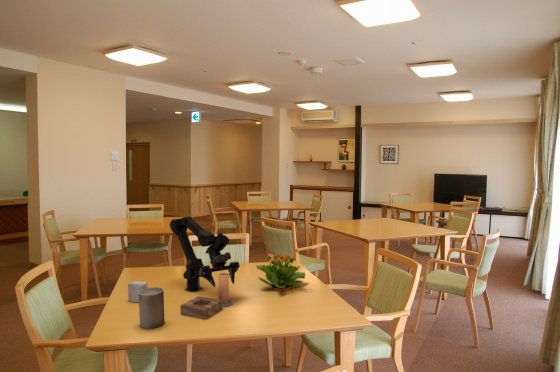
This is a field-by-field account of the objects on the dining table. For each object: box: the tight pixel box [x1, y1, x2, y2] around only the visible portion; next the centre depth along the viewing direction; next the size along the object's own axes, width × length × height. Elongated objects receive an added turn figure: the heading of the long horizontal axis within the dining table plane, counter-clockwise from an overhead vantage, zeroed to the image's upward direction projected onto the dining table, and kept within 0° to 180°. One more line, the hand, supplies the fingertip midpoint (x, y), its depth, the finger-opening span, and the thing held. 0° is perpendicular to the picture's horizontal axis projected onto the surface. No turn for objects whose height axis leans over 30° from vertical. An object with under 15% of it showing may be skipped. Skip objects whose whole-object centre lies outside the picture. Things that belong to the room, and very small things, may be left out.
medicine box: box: [127, 280, 149, 303], centre depth 188 cm, size 8×4×9 cm, turn 74°
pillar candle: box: [138, 287, 166, 330], centre depth 161 cm, size 10×10×15 cm
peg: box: [218, 272, 230, 304], centre depth 184 cm, size 4×4×13 cm
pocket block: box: [180, 295, 224, 320], centre depth 175 cm, size 13×13×4 cm
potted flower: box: [256, 253, 306, 292], centre depth 206 cm, size 25×24×18 cm
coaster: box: [223, 299, 233, 308], centre depth 184 cm, size 8×8×1 cm
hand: (224, 285), depth 183 cm, fingers open, 9 cm apart
